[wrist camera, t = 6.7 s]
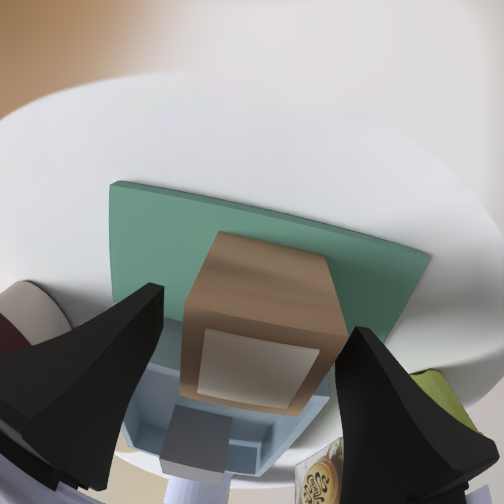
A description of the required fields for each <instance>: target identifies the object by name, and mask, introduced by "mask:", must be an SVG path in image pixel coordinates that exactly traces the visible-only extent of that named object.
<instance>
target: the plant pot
mask: <svg viewBox="0 0 504 504" xmlns="http://www.w3.org/2000/svg"><path fill="white" fill-rule="evenodd" d="M410 376H411V378H412V379H413V380H414V381H415V382H416V383H417V384H418V385H419V386H420V387H421V388H422V389H423V390H424V392H425V393H427V394H428V395H429V396H430V397H431V398H432V399H433V400H434V401H435V402H436V403H437V404H438V405H439V406H441V407H442V408H443V409H444V410H445V411H447V412H448V413H449V414H450V415H452V416H453V417H454V418H456V419H457V420H459V421H460V422H461V423H463V424H464V425H466V426H467V427H469V428H471V429H472V430H474V431H476V432H477V433H479V434H481V435H483V434H482V433H481V432H479V431H478V430H477V428H476V427H475V425H474V424H473V422H472V420H471V419H470V417H469V416H468V414H467V412H466V411H465V409H464V408H463V406H462V404H461V403H460V401H459V400H458V398H457V397H456V395H455V394H454V392H453V391H452V389H451V387H450V386H449V384H448V383H447V381H446V380H445V378H444V377H443V375H442V374H441V373H440V372H438V371H434V370H428V371H426V372H425V373H423V374H420V375H410ZM483 436H484V435H483Z"/></svg>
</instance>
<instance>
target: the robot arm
mask: <svg viewBox="0 0 504 504" xmlns="http://www.w3.org/2000/svg"><path fill="white" fill-rule="evenodd" d="M164 288H165V286H162V285H158V284H155V283H151V282H149V283H147V284H145V285H144V286H142V287H141V288H139V289H138V290H136V291H135V292H133V293H132V294H131V295H129V296H128V297H126V298H125V299H123V300H122V301H120V302H119V303H117V304H116V305H114V306H113V307H111V308H109V309H108V310H106V311H105V312H103V313H101V314H100V315H98V316H96V317H95V318H93V319H91V320H90V321H88V322H86V323H84V324H82V325H81V326H79V327H77V328H75V329H73V330H70V331H68V332H66V333H64V334H62V335H60V336H57V337H54V338H52V339H49V340H47V341H44V342H41V343H39V344H36V345H33V346H29V347H26V348H23V349H19V350H15V351H11V352H6V353H1V354H0V504H105V503H102V502H100V501H98V500H96V499H93V498H91V497H89V496H87V495H85V494H83V493H81V492H79V491H77V489H78V486H79V487H81V488H83V489H85V490H88V488H91V489H93V490H95V491H102V490H105V489H107V482H108V478H109V473H110V468H111V463H112V459H113V455H114V451H115V447H116V443H117V439H118V436H119V432H120V429H121V426H122V423H123V420H124V417H125V414H126V411H127V408H128V405H129V402H130V400H131V398H132V395H133V393H134V391H135V389H136V387H137V385H138V383H139V381H140V379H141V377H142V375H143V373H144V371H145V369H146V367H147V365H148V363H149V361H150V359H151V357H152V355H153V353H154V351H155V349H156V347H157V344H158V341H159V339H160V336H161V333H162V330H163V327H164ZM335 379H336V389H337V396H338V403H339V409H340V416H341V422H342V429H343V444H344V447H343V475H342V485H341V493H340V500H339V504H492V500H491V496H490V492H489V487H488V485H485V486H483V487H481V488H479V489H477V490H476V491H474V492H471V493H470V494H468V495H466V496H465V492H464V491H465V490H467V489H468V488H469V484H468V481H469V480H471V479H473V478H474V477H476V476H478V475H479V474H481V473H482V472H483V471H485V470H487V469H488V468H489V467H491V466H492V465H493V464H495V463H496V462H497V461H498V459H499V457H500V456H499V453H498V450H497V447H496V445H495V442H494V441H493V440H491V439H489V438H487V437H485V436H483V435H481V434H479V433H477V432H476V431H474V430H472V429H471V428H469V427H467V426H466V425H464V424H463V423H461V422H460V421H459V420H457V419H456V418H454V417H453V416H452V415H450V414H449V413H448V412H447V411H445V410H444V409H443V408H442V407H441V406H439V405H438V404H437V403H436V402H435V401H434V400H433V399H432V398H431V397H430V396H429V395H428V394H427V393H425V392H424V390H423V389H422V388H421V387H420V386H419V385H418V384H417V383H416V382H415V381H414V380H413V379H412V378H411V376H410V375H409V374H408V373H407V372H406V371H405V370H404V368H403V367H402V366H401V365H400V364H399V362H398V361H397V360H396V359H395V358H394V356H393V355H392V354H391V353H390V351H389V350H388V349H387V348H386V347H385V345H384V344H383V343H382V342H381V341H380V339H379V338H378V337H377V336H376V335H375V334H374V332H373V331H372V330H371V329H370V328H367V327H360V326H355V328H354V330H353V331H352V333H351V335H350V337H349V338H348V340H347V342H346V344H345V345H344V347H343V349H342V351H341V352H340V354H339V356H338V357H337V359H336V360H335ZM233 475H234V474H232V473H226V472H224V475H223V477H222V478H221V480H220V482H219V484H218V485H212V484H206V483H201V482H196V481H192V480H188V479H183V478H179V477H175V476H172V475H170V478H169V482H168V486H167V490H166V494H165V498H164V502H163V504H228V498H229V491H230V484H231V478H232V477H233Z"/></svg>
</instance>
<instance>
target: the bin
mask: <svg viewBox="0 0 504 504" xmlns="http://www.w3.org/2000/svg"><path fill="white" fill-rule="evenodd" d="M182 328H183V322H182V321H178V320H174V319H171V318H167V317H164V327H163V330H162V333H161V336H160V339H159V341H158V344H157V347H156V349H155V351H154V353H153V355H152V357H151V359H150V361H149V363H148V365H147V367H146V369H145V371H144V373H143V375H142V377H141V379H140V381H139V383H138V385H137V387H136V389H135V391H134V393H133V395H132V398H131V400H130V402H129V405H128V408H127V411H126V414H125V417H124V420H123V423H122V426H121V431H122V433H123V435H124V438H125V440H126V442H127V444H128V446H129V447H130V448H133V449H136V450H139V451H141V452H144V453H147V454H151V455H154V456H157V457H160V454H161V450H162V447H163V443H164V440H165V437H166V433H167V430H168V427H169V423H170V420H171V417H172V413H173V410H174V407H175V404H176V405H180V406H183V407H187V408H191V409H195V410H199V411H204V412H208V413H213V414H218V415H222V416H228V417H233V418H232V425H231V432H230V439H229V445H228V452H227V459H226V466H225V472H226V473H232V474H239V475H247V476H256V477H261V476H262V475H263V474H264V473H265V472H266V471H267V470H268V469H269V468H270V467H271V466H272V465H273V464H274V463H275V462H276V461H277V460H278V459H279V458H280V456H281V455H282V454H283V453H284V452H285V451H286V450H287V449H288V448H289V447H290V446H291V445H292V444H293V442H294V441H295V440H296V439H297V438H298V437H299V436H300V434H301V433H302V432H303V431H304V430H305V429H306V427H307V426H308V425H309V424H310V423H311V421H312V420H313V419H314V418H315V417H316V415H317V414H318V413H319V412H320V410H321V409H322V408H323V407H324V405H325V404H326V403H327V401H328V400H329V399H330V397H331V393H330V386H329V379H328V373H327V374H326V376H325V377H324V379H323V380H322V382H321V383H320V385H319V387H318V388H317V390H316V391H315V393H314V394H313V396H312V397H311V398H310V400H309V401H308V403H307V404H306V406H305V407H304V409H303V410H302V411H301V413H300V414H299V416H298V417H297V416H287V415H278V414H270V413H263V412H256V411H250V410H244V409H238V408H233V407H227V406H222V405H217V404H213V403H208V402H204V401H200V400H195V399H191V398H187V397H184V396H180V365H181V344H182Z"/></svg>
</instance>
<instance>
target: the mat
mask: <svg viewBox="0 0 504 504" xmlns="http://www.w3.org/2000/svg"><path fill="white" fill-rule="evenodd" d="M218 231H222V232H227V233H231V234H236V235H240V236H245V237H249V238H254V239H258V240H263V241H267V242H272V243H276V244H281V245H285V246H289V247H294V248H298V249H303V250H307V251H311V252H316V253H320V254H324V256H325V259H326V262H327V266H328V269H329V272H330V275H331V278H332V281H333V284H334V287H335V291H336V294H337V297H338V300H339V304H340V307H341V310H342V314H343V317H344V321H345V324H346V328H347V331H348V335H349V337H350V335H351V333H352V331H353V330H354V328H355V326H360V327H367V328H370V329H371V330H372V331H373V332H374V334H375V335H376V336H377V337H378V338H379V339H380V341H381V342H382V343H383V342H384V340H385V339H386V337H387V335H388V334H389V332H390V331H391V329H392V327H393V326H394V324H395V322H396V321H397V319H398V317H399V316H400V314H401V312H402V310H403V309H404V307H405V305H406V303H407V302H408V300H409V298H410V296H411V294H412V292H413V290H414V289H415V287H416V285H417V283H418V281H419V279H420V277H421V275H422V273H423V271H424V269H425V267H426V265H427V262H428V260H429V258H428V257H427V256H426V255H425V254H424V253H423V252H422V251H419V250H416V249H412V248H409V247H406V246H402V245H399V244H396V243H392V242H389V241H385V240H382V239H378V238H375V237H371V236H368V235H364V234H360V233H357V232H353V231H349V230H346V229H342V228H338V227H334V226H331V225H327V224H323V223H319V222H315V221H311V220H307V219H303V218H299V217H295V216H291V215H287V214H282V213H278V212H274V211H270V210H265V209H261V208H256V207H252V206H247V205H243V204H238V203H234V202H229V201H224V200H220V199H215V198H210V197H205V196H200V195H195V194H190V193H185V192H180V191H174V190H169V189H163V188H158V187H152V186H147V185H141V184H135V183H129V182H123V181H117V182H115V183H113V184H111V185H110V191H109V247H110V267H111V281H112V292H113V301H114V302H117V303H119V302H120V301H122V300H123V299H125V298H126V297H128V296H129V295H131V294H132V293H133V292H135V291H136V290H138V289H139V288H141V287H142V286H144V285H145V284H147V283H149V282H151V283H155V284H158V285H162V286H165V288H164V317H167V318H171V319H174V320H178V321H182V322H183V314H184V304H185V302H186V299H187V297H188V295H189V293H190V291H191V288H192V286H193V284H194V282H195V280H196V278H197V275H198V273H199V271H200V269H201V267H202V265H203V263H204V260H205V258H206V256H207V254H208V252H209V250H210V248H211V246H212V244H213V242H214V240H215V237H216V235H217V233H218ZM349 337H348V338H349ZM347 340H348V339H347ZM346 342H347V341H346ZM345 344H346V343H345ZM345 344H344V345H345ZM343 347H344V346H343ZM342 349H343V348H342ZM341 351H342V350H341ZM341 351H340V352H341Z"/></svg>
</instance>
